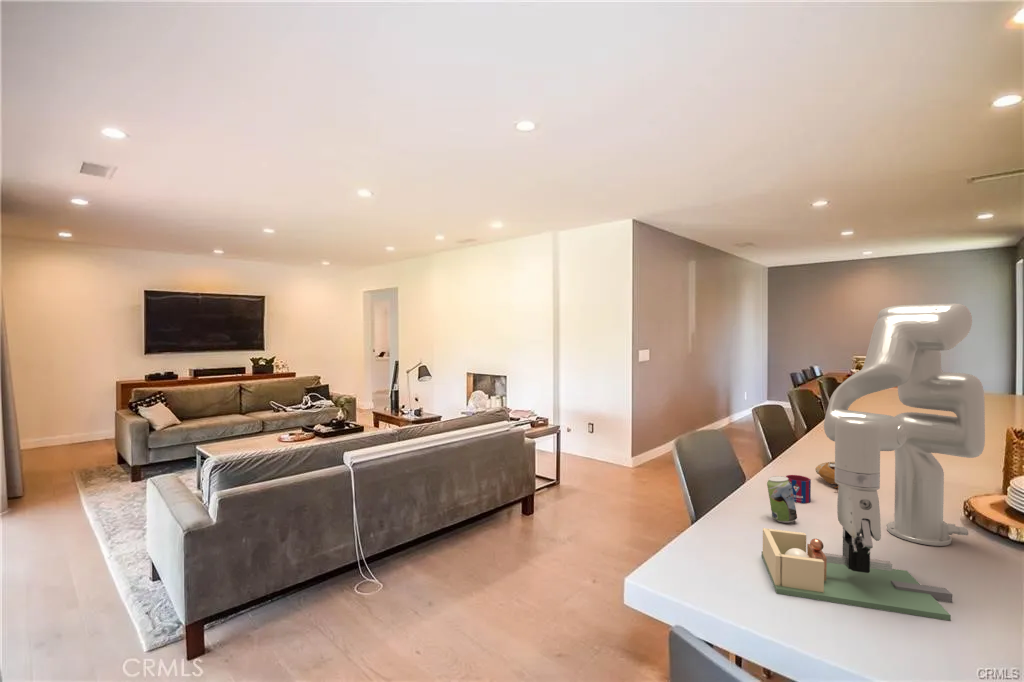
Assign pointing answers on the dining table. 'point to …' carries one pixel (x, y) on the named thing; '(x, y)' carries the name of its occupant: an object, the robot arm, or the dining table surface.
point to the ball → (797, 552)
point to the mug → (800, 488)
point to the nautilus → (827, 472)
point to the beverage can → (781, 499)
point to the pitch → (847, 581)
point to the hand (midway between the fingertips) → (855, 565)
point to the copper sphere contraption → (816, 552)
